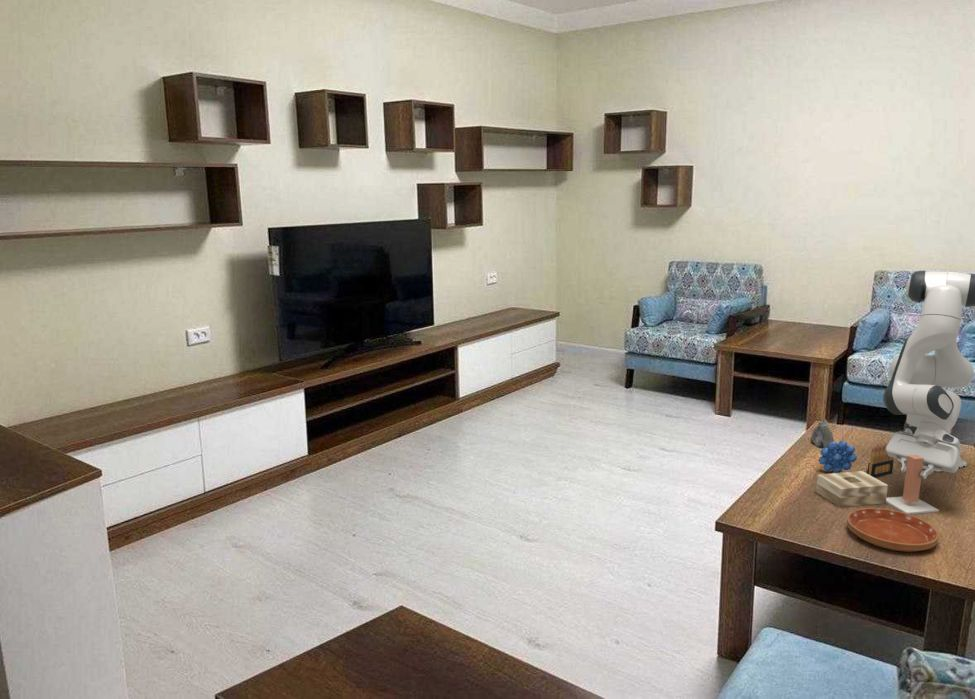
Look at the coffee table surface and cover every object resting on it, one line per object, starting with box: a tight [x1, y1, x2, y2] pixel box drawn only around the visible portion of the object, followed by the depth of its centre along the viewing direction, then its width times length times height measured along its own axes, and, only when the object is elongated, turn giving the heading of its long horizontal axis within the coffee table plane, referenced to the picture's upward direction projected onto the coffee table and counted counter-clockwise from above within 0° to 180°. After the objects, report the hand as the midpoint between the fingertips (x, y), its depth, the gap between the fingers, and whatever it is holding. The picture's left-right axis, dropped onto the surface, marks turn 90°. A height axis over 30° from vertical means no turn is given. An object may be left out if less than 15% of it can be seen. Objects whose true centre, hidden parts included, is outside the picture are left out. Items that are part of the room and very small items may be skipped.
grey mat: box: [885, 495, 940, 515], centre depth 234 cm, size 11×11×1 cm
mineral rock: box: [811, 419, 835, 449], centre depth 289 cm, size 13×11×10 cm
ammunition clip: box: [866, 440, 895, 479], centre depth 258 cm, size 11×2×12 cm, turn 116°
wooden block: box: [902, 455, 924, 502], centre depth 232 cm, size 3×3×14 cm
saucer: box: [846, 507, 940, 553], centre depth 214 cm, size 23×23×4 cm
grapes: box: [818, 440, 858, 473], centre depth 260 cm, size 12×7×12 cm, turn 63°
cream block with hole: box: [815, 470, 889, 508], centre depth 240 cm, size 17×12×6 cm
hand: (912, 474), depth 232 cm, fingers closed on wooden block, 4 cm apart
